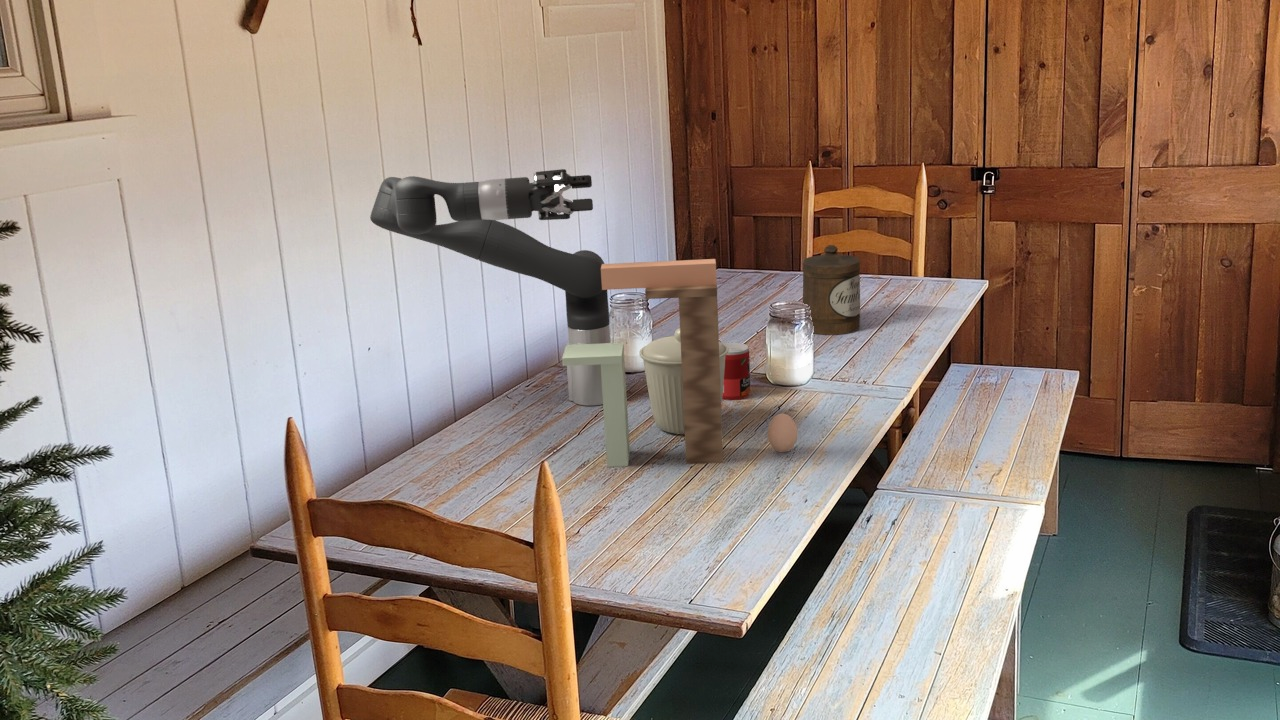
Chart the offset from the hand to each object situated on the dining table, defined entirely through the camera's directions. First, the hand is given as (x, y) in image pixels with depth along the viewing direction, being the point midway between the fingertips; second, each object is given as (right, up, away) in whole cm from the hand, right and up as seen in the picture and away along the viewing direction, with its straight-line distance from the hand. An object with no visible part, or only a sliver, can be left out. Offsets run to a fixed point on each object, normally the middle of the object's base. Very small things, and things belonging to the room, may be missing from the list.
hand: (592, 192), depth 224 cm
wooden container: (+59, -23, +92) cm, 112 cm away
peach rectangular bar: (+13, -17, -2) cm, 21 cm away
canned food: (+29, -39, +42) cm, 65 cm away
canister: (+19, -45, +24) cm, 54 cm away
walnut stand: (+18, -50, +8) cm, 53 cm away
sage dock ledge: (+1, -50, +8) cm, 51 cm away
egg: (+36, -49, +8) cm, 61 cm away
